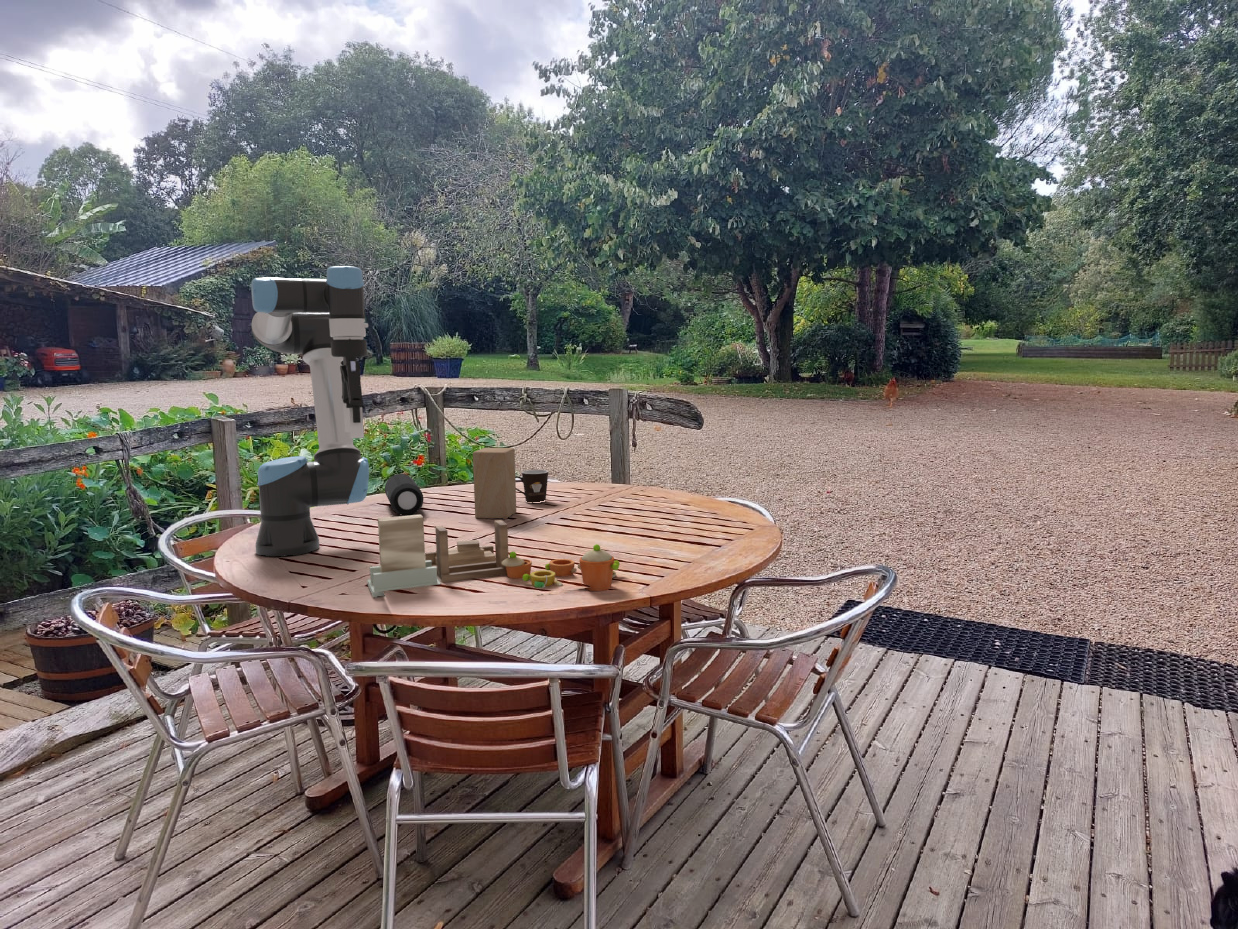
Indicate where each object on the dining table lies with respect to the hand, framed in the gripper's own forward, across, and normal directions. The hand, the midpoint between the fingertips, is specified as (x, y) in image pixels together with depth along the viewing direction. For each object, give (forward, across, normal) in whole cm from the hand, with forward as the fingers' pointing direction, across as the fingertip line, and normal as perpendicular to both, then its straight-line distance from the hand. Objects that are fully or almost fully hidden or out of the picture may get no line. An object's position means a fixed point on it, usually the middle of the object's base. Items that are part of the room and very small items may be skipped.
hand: (354, 434), depth 187 cm
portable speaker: (+32, +70, -20) cm, 80 cm away
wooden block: (+32, +48, -44) cm, 73 cm away
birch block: (+30, -16, -7) cm, 35 cm away
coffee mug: (+32, +64, -60) cm, 93 cm away
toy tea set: (+32, -28, -39) cm, 58 cm away
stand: (+32, -16, -7) cm, 36 cm away
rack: (+32, -11, -22) cm, 40 cm away
